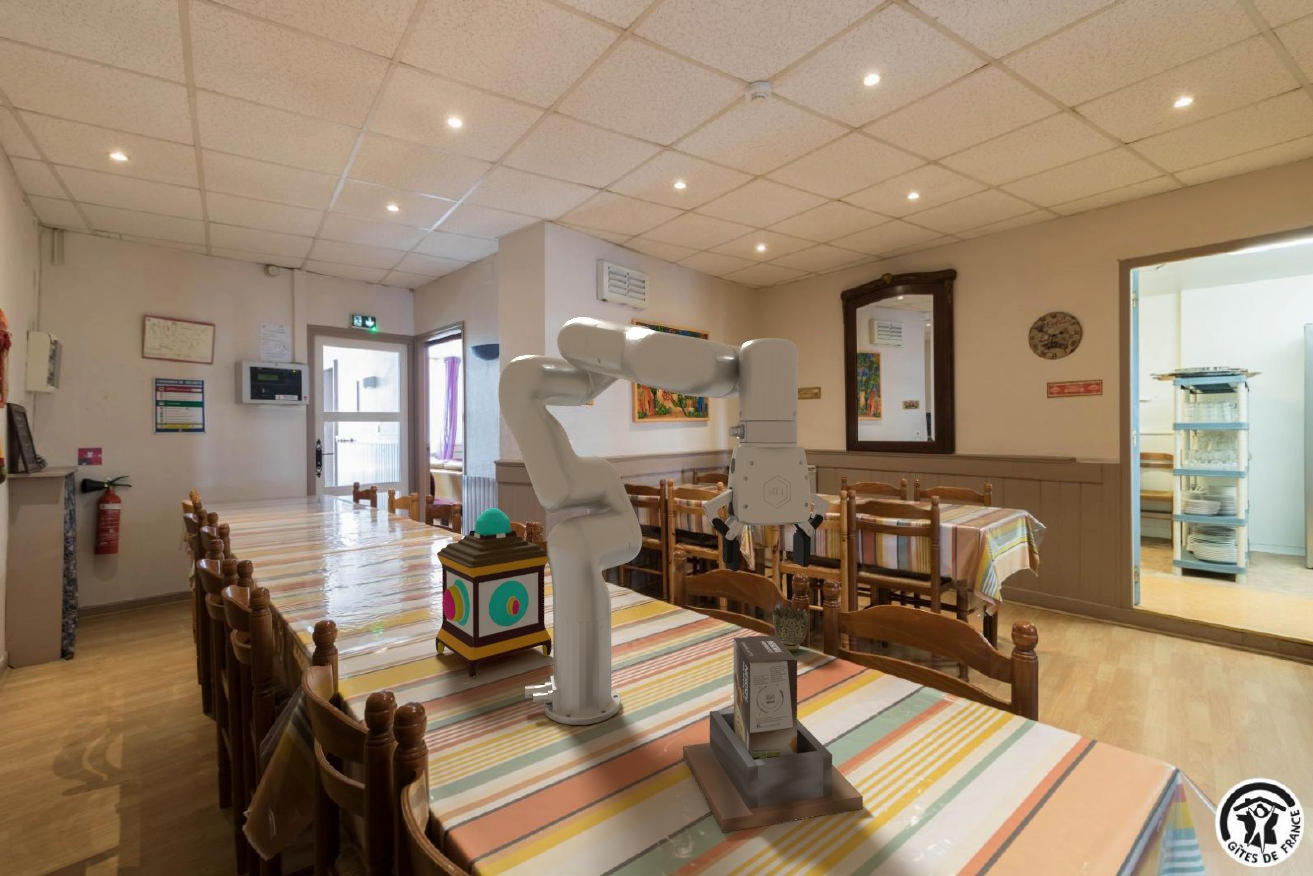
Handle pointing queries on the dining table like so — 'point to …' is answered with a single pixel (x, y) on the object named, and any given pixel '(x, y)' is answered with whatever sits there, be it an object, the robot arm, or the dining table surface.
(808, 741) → the post socket
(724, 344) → the robot arm
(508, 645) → the decorative lantern
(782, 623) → the cup
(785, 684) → the coffee box
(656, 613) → the dining table surface
